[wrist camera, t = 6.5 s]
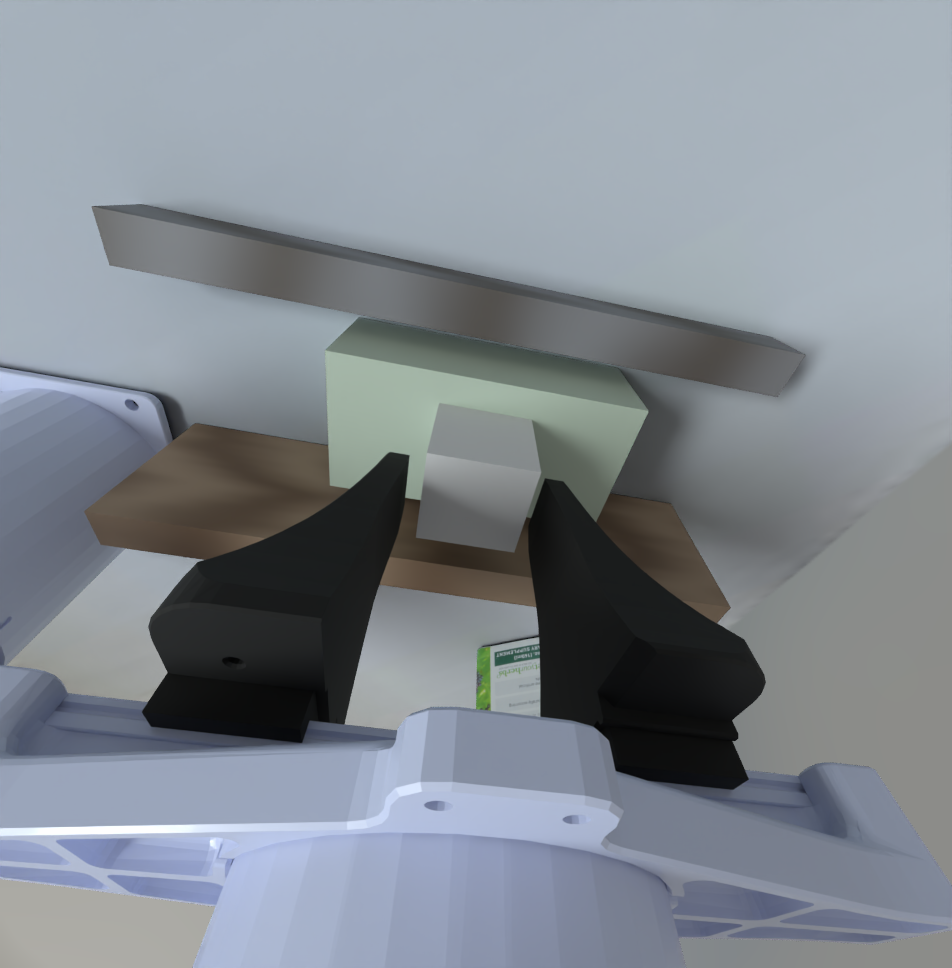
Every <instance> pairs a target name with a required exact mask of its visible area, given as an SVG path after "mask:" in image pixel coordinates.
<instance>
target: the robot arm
mask: <svg viewBox="0 0 952 968" xmlns="http://www.w3.org/2000/svg"><path fill="white" fill-rule="evenodd" d="M132 400H133V401H135V402H136V403H137V404H138V406H137V405H135V404H134V403H133V401H132ZM172 441H173V439H172V435H171V432H170V428H169V425H168V422H167V418H166V415H165V411H164V408H163V405H162V403H161V401H160V400H159V399H158V398H157V397H155V396H154V395H152V394H149V393H146V392H140V391H134V390H128V389H123V388H117V387H111V386H105V385H100V384H94V383H88V382H82V381H77V380H71V379H65V378H59V377H54V376H48V375H42V374H36V373H31V372H25V371H19V370H13V369H8V368H2V367H0V879H4V880H14V881H23V882H32V883H40V884H47V885H55V886H64V887H71V888H79V889H87V890H95V891H102V892H110V893H117V894H124V895H132V896H140V897H147V898H155V899H162V900H170V901H177V902H185V903H192V904H200V905H207V906H215V910H214V912H213V915H212V918H211V920H210V923H209V925H208V928H207V931H206V933H205V936H204V938H203V941H202V944H201V946H200V949H199V951H198V954H197V957H196V959H195V962H194V964H193V967H192V968H686V965H685V961H684V957H683V953H682V949H681V945H680V941H679V938H703V939H704V938H705V939H762V940H799V941H822V942H840V943H855V944H869V945H873V944H879V943H885V942H890V941H896V940H901V939H907V938H912V937H918V936H923V935H929V934H934V933H940V932H945V931H950V930H952V885H951V883H950V882H949V881H948V879H947V877H946V876H945V875H944V873H943V871H942V870H941V868H940V867H939V865H938V864H937V862H936V861H935V859H934V858H933V856H932V855H931V853H930V852H929V850H928V849H927V847H926V846H925V844H924V843H923V842H922V840H921V838H920V837H919V835H918V834H917V832H916V831H915V829H914V828H913V826H912V825H911V823H910V822H909V820H908V819H907V817H906V816H905V814H904V813H903V811H902V810H901V808H900V807H899V805H898V803H897V802H896V800H895V799H894V798H893V796H892V794H891V793H890V791H889V790H888V788H887V787H886V785H885V784H884V782H883V781H882V780H881V778H880V776H879V775H878V773H877V772H876V771H875V769H872V768H870V767H866V766H858V765H849V764H841V763H819V764H815V765H812V766H810V767H808V768H807V769H805V770H804V771H802V772H801V773H800V774H799V776H794V775H784V774H776V773H768V772H759V771H750V770H745V769H744V767H743V765H742V762H741V760H740V758H739V755H738V753H737V751H736V749H735V746H734V744H733V742H732V741H736V740H737V739H738V732H737V730H736V728H735V726H734V724H733V722H732V720H733V719H734V718H735V717H736V716H737V715H739V714H740V713H741V712H742V711H743V710H745V709H746V708H747V707H748V706H749V705H751V704H752V703H753V702H754V701H755V700H756V699H757V698H758V697H759V696H760V695H761V693H762V691H763V689H764V686H765V683H766V682H765V677H764V674H763V672H762V670H761V668H760V667H759V665H758V663H757V661H756V660H755V658H754V656H753V654H752V652H751V651H750V649H749V647H748V645H747V644H746V642H745V640H744V639H742V638H741V637H739V636H737V635H736V634H734V633H732V632H730V631H729V630H727V629H725V628H724V627H722V626H720V625H719V624H717V623H715V622H714V621H712V620H710V619H709V618H707V617H705V616H704V615H702V614H701V613H699V612H698V611H696V610H695V609H693V608H692V607H690V606H689V605H687V604H686V603H684V602H683V601H681V600H680V599H679V598H677V597H676V596H675V595H673V594H672V593H670V592H669V591H668V590H666V589H665V588H664V587H663V586H661V585H660V584H659V583H658V582H656V581H655V580H654V579H653V578H651V577H650V576H649V575H648V574H647V573H645V572H644V571H643V570H642V569H641V568H640V567H639V566H637V565H636V564H635V563H634V562H633V561H632V560H631V559H630V558H629V557H628V556H627V555H626V554H625V553H624V552H623V551H622V550H621V549H620V548H619V547H618V546H617V545H616V544H615V543H614V542H613V541H612V540H611V539H610V538H609V537H608V536H607V535H606V533H605V532H604V531H603V530H602V529H601V528H600V527H599V525H598V524H597V523H596V522H595V521H594V519H593V518H592V517H591V516H590V514H589V513H588V512H587V511H586V509H585V508H584V507H583V506H582V504H581V503H580V502H579V500H578V499H577V498H576V497H575V495H574V494H573V493H572V491H571V490H570V489H569V487H568V486H567V485H566V484H565V483H564V481H558V480H553V479H547V478H545V479H544V482H543V485H542V488H541V491H540V494H539V496H538V499H537V502H536V505H535V508H534V511H533V514H532V517H531V519H530V522H529V525H528V553H529V560H530V568H531V575H532V581H533V588H534V595H535V601H536V608H537V616H538V625H539V650H540V717H537V716H529V715H521V714H512V713H504V712H496V711H487V710H479V709H470V708H462V707H430V708H427V709H424V710H421V711H418V712H415V713H412V714H411V715H409V716H408V717H407V718H406V719H405V720H404V721H403V723H402V724H401V725H400V726H399V727H398V730H388V729H379V728H371V727H362V726H353V725H344V724H345V719H346V715H347V710H348V706H349V701H350V697H351V693H352V689H353V684H354V680H355V676H356V671H357V667H358V663H359V659H360V655H361V651H362V647H363V642H364V638H365V634H366V630H367V626H368V622H369V618H370V614H371V610H372V606H373V603H374V599H375V596H376V593H377V590H378V587H379V584H380V582H381V579H382V576H383V573H384V571H385V568H386V565H387V562H388V560H389V557H390V554H391V551H392V549H393V546H394V543H395V540H396V538H397V535H398V532H399V527H400V523H401V519H402V514H403V510H404V505H405V495H406V486H407V476H408V467H409V457H410V455H406V454H400V453H394V452H389V453H387V454H386V455H385V456H384V457H383V458H382V459H381V460H380V461H379V463H378V464H377V465H376V466H375V467H374V468H372V469H371V470H370V471H369V472H368V473H367V474H366V475H365V476H364V477H363V478H362V479H360V480H359V481H358V482H357V483H356V484H355V485H354V486H352V487H351V488H350V489H349V490H347V491H346V492H345V493H343V494H342V495H341V496H340V497H338V498H337V499H336V500H334V501H333V502H332V503H330V504H329V505H327V506H326V507H324V508H323V509H321V510H320V511H318V512H316V513H315V514H313V515H312V516H310V517H308V518H307V519H305V520H303V521H301V522H299V523H297V524H295V525H293V526H291V527H289V528H287V529H285V530H284V531H282V532H279V533H277V534H275V535H273V536H270V537H268V538H266V539H263V540H261V541H258V542H256V543H253V544H251V545H248V546H246V547H243V548H240V549H238V550H234V551H231V552H228V553H225V554H222V555H219V556H216V557H213V558H210V559H207V560H204V561H200V562H197V563H196V565H195V566H194V567H193V568H192V569H191V570H190V571H189V572H188V573H187V574H186V575H185V576H184V577H183V578H182V579H181V581H180V582H179V583H178V584H177V585H176V586H175V588H174V589H173V590H172V592H171V593H170V594H169V595H168V597H167V598H166V599H165V600H164V602H163V603H162V604H161V605H160V607H159V608H158V609H157V611H156V612H155V613H154V614H153V616H152V617H151V619H150V623H149V626H148V627H149V631H150V635H151V639H152V641H153V643H154V645H155V647H156V649H157V651H158V653H159V655H160V657H161V659H162V662H163V664H164V666H165V668H166V670H167V672H168V673H167V675H166V676H165V678H164V679H163V681H162V682H161V684H160V685H159V687H158V688H157V690H156V691H155V692H154V694H153V695H152V697H151V698H150V700H149V701H148V702H141V701H132V700H124V699H115V698H106V697H97V696H88V695H79V694H71V693H67V690H66V688H65V686H64V684H63V683H62V681H61V680H60V679H59V678H57V677H56V676H55V675H53V674H50V673H48V672H46V671H42V670H37V669H30V668H22V667H13V666H6V665H7V664H8V663H9V662H10V661H11V660H12V659H13V658H14V657H15V656H16V655H17V654H18V653H19V652H20V651H21V650H22V649H23V648H24V647H26V646H27V645H28V644H29V643H30V642H31V641H32V640H33V639H34V638H35V637H36V636H37V635H38V634H39V633H40V632H41V631H42V630H43V629H44V628H45V627H46V626H47V625H48V624H49V623H50V622H51V621H52V620H53V619H54V618H55V617H56V616H57V615H58V614H59V613H60V612H61V611H62V610H63V609H64V608H65V607H66V606H67V605H68V604H69V603H70V602H71V601H72V600H73V599H74V598H75V597H76V596H77V595H78V594H79V593H80V592H81V591H82V590H84V589H85V588H86V587H87V586H88V585H89V584H90V583H91V582H92V581H93V580H94V579H95V578H96V577H97V576H98V575H99V574H100V573H101V572H102V571H103V570H104V569H105V568H106V567H107V566H108V565H109V564H110V563H111V562H112V561H113V560H114V559H115V558H116V557H117V556H118V555H119V554H120V553H121V552H122V551H123V550H124V549H125V548H120V547H113V546H106V545H100V543H99V541H98V539H97V537H96V535H95V533H94V531H93V529H92V527H91V525H90V523H89V521H88V519H87V517H86V515H85V513H84V511H85V510H86V509H87V508H89V507H90V506H91V505H92V504H94V503H95V502H96V501H98V500H99V499H100V498H101V497H103V496H104V495H105V494H106V493H108V492H109V491H110V490H111V489H113V488H114V487H115V486H116V485H118V484H119V483H120V482H122V481H123V480H124V479H125V478H127V477H128V476H129V475H130V474H132V473H133V472H134V471H135V470H137V469H138V468H139V467H140V466H142V465H143V464H144V463H146V462H147V461H148V460H149V459H151V458H152V457H153V456H154V455H156V454H157V453H158V452H159V451H161V450H162V449H163V448H165V447H166V446H167V445H168V444H170V443H171V442H172Z"/></svg>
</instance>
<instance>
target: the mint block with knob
mask: <svg viewBox="0 0 952 968" xmlns="http://www.w3.org/2000/svg"><path fill="white" fill-rule="evenodd" d="M325 364H326V392H327V420H328V448H329V476H330V486H336V487H342V488H348V489H350V488H351V487H352V486H354V485H355V484H356V483H357V482H358V481H359V480H360V479H362V478H363V477H364V476H365V475H366V474H367V473H368V472H369V471H370V470H371V469H372V468H374V467H375V466H376V465H377V464H378V463H379V461H380V460H381V459H382V458H383V457H384V456H385V455H386V454H387V453H389V452H394V453H400V454H406V455H410V457H409V467H408V476H407V486H406V495H405V498H410V499H417V500H421V502H420V509H419V517H418V524H417V532H416V538H422V539H429V540H435V541H442V542H448V543H455V544H461V545H468V546H474V547H481V548H487V549H494V550H500V551H507V552H513V553H514V552H515V549H516V546H517V543H518V540H519V537H520V534H521V531H522V528H523V525H524V522H525V519H526V517H528V518H531V517H532V514H533V511H534V508H535V505H536V502H537V499H538V496H539V494H540V491H541V488H542V485H543V482H544V479H545V478H547V479H553V480H558V481H564V483H565V484H566V485H567V486H568V487H569V489H570V490H571V491H572V493H573V494H574V495H575V497H576V498H577V499H578V500H579V502H580V503H581V504H582V506H583V507H584V508H585V509H586V511H587V512H588V513H589V514H590V516H591V517H592V518H593V519H594V521H595V522H596V521H597V519H598V517H599V515H600V513H601V511H602V509H603V506H604V504H605V502H606V500H607V498H608V496H609V494H610V492H611V490H612V488H613V485H614V483H615V481H616V479H617V477H618V475H619V473H620V471H621V469H622V466H623V464H624V462H625V460H626V458H627V456H628V454H629V452H630V450H631V448H632V445H633V443H634V441H635V439H636V437H637V435H638V433H639V431H640V429H641V427H642V424H643V422H644V420H645V418H646V416H647V414H648V412H649V411H648V409H647V408H646V407H645V405H644V404H643V402H642V401H641V399H640V398H639V397H638V395H637V394H636V392H635V391H634V390H633V388H632V387H631V385H630V384H629V383H628V381H627V380H626V378H625V377H624V376H623V374H622V373H621V371H620V370H619V369H618V368H616V367H611V366H606V365H600V364H595V363H590V362H585V361H580V360H575V359H570V358H565V357H559V356H554V355H549V354H544V353H539V352H534V351H529V350H524V349H518V348H513V347H508V346H503V345H498V344H493V343H488V342H483V341H477V340H472V339H467V338H462V337H457V336H452V335H447V334H442V333H437V332H431V331H426V330H421V329H416V328H411V327H406V326H401V325H396V324H390V323H385V322H380V321H375V320H370V319H365V318H360V317H359V318H358V319H357V320H356V321H355V322H354V323H353V324H352V325H351V326H350V327H349V328H348V329H347V330H346V331H345V332H343V333H342V334H341V335H340V336H339V337H338V338H337V339H336V340H335V341H334V342H333V343H332V344H331V345H330V346H329V347H328V348H327V349H326V350H325Z"/></svg>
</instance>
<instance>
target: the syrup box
mask: <svg viewBox="0 0 952 968" xmlns="http://www.w3.org/2000/svg"><path fill="white" fill-rule="evenodd" d="M476 699H477V700H476V709H479V710H487V711H496V712H504V713H512V714H521V715H529V716H537V717H540V650H539V637H536V638H531V639H526V640H521V641H515V642H510V643H505V644H500V645H495V646H486V647H481V648H479V649H478V651H477V688H476Z"/></svg>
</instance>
